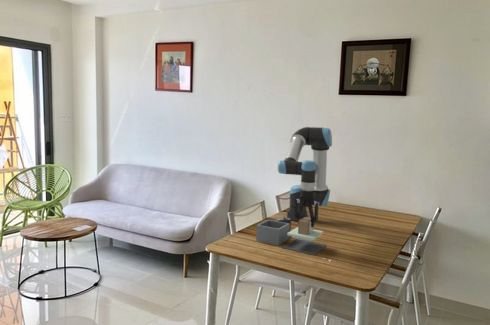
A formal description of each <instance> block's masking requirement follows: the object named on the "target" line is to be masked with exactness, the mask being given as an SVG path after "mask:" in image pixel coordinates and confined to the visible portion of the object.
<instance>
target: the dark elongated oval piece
mask: <svg viewBox="0 0 490 325" xmlns="http://www.w3.org/2000/svg"><path fill="white" fill-rule="evenodd" d="M285 216H286V215H283V216H281V217H282V218H279V219H278V218H277V219H276V221H278V222H283V223H289V224H290V228H289V232H290V231H291V230H292V229H291V227H292V226H291V225H292V221H291V219H290V218H288V219H287V217H285Z"/></svg>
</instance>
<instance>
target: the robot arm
mask: <svg viewBox="0 0 490 325" xmlns="http://www.w3.org/2000/svg"><path fill="white" fill-rule="evenodd" d="M332 145H333V135H332V131H331V128H330V127H329V128H328V127H315V126H314V127H311V126H310V127H309V126H305V127H302V128H300V129H298V130H296V131H295V132H294V133H293V134H292V135H291V138H290V144H289V147H288V150H287V153H286V155H285V157H284V159H283V160H279V161H278V164H277V171H278V173H279V174H281V175H291V176H293V175H294V176H300V178H301V179H300V180H301V181H300V184H298V185H293V186H291V187H290V188H289V189H290V191H289V208H288V211H287V213H286V218H287V219H288V218H290V219H291V222H297V224H298V223H299V220H301V219H303V218H304V217H307V218H311V221H310V224H309V233H312V227H313V228H315V222H316V221H318V220H319V207H326V206H328V204H329V199H330V193H331V189H329V187H328V184H327V161H328V160H327V159H328V158H327V156H328V155H327V154H328V151H329V150H330V147H332ZM305 146H310V149H311V150H312V151H313V153H312V154H313V155H312V159H313V160H307V159H306V160H302V161H299V158H300V155H301V152H302V150H303V148H304V147H305ZM308 212H309V213H308Z"/></svg>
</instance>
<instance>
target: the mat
mask: <svg viewBox="0 0 490 325" xmlns="http://www.w3.org/2000/svg"><path fill="white" fill-rule="evenodd" d="M326 246H327V244H324V243H319V242H315V241H312V242H310V241H305V240H300V239H295V238H294V240H292V241H290V242H289V243H288V244H286V245H284V246H283V247H282V249H284V250H288V251H294V252H298V253H302V254H306V255H309V256H310V255H311V256H316V255H318V253H320V252H321V251H322V250H323V249H325V247H326Z"/></svg>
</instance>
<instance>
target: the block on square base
mask: <svg viewBox="0 0 490 325" xmlns="http://www.w3.org/2000/svg"><path fill="white" fill-rule="evenodd" d="M310 221H311V218H310V217H309V218H307V217H304V218H303V219H301V220H299V223H298V222H297V225H298V226H297V227H295V228H293V229H291V230H290V232H288V233H287V235H288V236H289V237H291V239H294V240H295V239H300V240H305V241H310V242H315V240H317V239H318V238H319V237H320V236H322V235H323V234H324V231H323V230H319V229H314V227H312V233H309V224H310Z"/></svg>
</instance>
